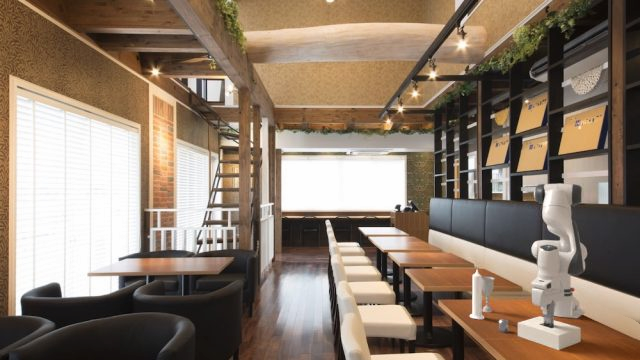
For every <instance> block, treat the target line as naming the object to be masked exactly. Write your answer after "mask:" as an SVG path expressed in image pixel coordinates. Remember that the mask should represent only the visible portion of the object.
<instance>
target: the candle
mask: <svg viewBox="0 0 640 360" xmlns="http://www.w3.org/2000/svg"><path fill="white" fill-rule="evenodd" d="M482 277H483V276H482V275H481V274H480V273H479V269H478V268H476V271H475V273H473V274H472V283H471V284H472V288H471V289H472V292H471V293H472V294H471V295H472V298H471V299H472V300H471V302H472V305H471V307H472V309H471V310H472V311H471V313H470V314H469V317H470V318H471V319H474V320H484V319H485V316H484V315H483V314H482V313H483V311H482V310H483V299H482V298H483V297H482V296H483V294H482V293H483V290H482Z"/></svg>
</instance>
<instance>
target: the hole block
mask: <svg viewBox="0 0 640 360" xmlns="http://www.w3.org/2000/svg"><path fill="white" fill-rule="evenodd" d="M581 333H582V332H581V327H579V326H576V325H572V324H568V323H565V322H562V321H557V320H555V319H554V328H549V327H546V326H544V316H540V315H539V316H536V317H533V318H529V319H526V320H522V321H519V322H517V337H519V338H522V339H526V340H528V341H531V342H534V343H537V344H540V345H543V346H545V347H549V348H551V349H554V350H557V351H560V350H563V349H565V348H567V347H570V346H573V345H576V344H578V343H581V338H582V337H581V336H582V335H581Z"/></svg>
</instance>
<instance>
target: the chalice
mask: <svg viewBox="0 0 640 360" xmlns="http://www.w3.org/2000/svg"><path fill="white" fill-rule="evenodd" d="M494 281H495V277H492V276H482V293H483V294H484V295H485V300H486V301H485V303H486V304H485V305H484V306H483V307H482V312H483V313H484V312H485V313H492V312H493V311H492V308H491V306H490V305H489V303H490V302H489V300H490V299H489V296H490V295H491V294H492V292H493V290H494V285H495V284H494V283H495V282H494Z"/></svg>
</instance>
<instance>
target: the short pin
mask: <svg viewBox="0 0 640 360" xmlns="http://www.w3.org/2000/svg"><path fill="white" fill-rule="evenodd" d="M498 332H500V333H505V334H508V333H509V320H508V319H503V318H499V319H498Z"/></svg>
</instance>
